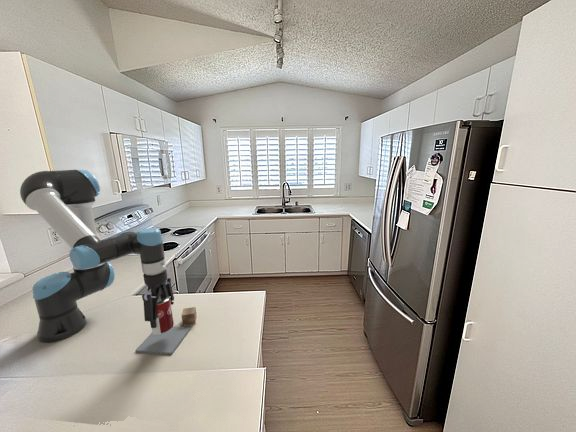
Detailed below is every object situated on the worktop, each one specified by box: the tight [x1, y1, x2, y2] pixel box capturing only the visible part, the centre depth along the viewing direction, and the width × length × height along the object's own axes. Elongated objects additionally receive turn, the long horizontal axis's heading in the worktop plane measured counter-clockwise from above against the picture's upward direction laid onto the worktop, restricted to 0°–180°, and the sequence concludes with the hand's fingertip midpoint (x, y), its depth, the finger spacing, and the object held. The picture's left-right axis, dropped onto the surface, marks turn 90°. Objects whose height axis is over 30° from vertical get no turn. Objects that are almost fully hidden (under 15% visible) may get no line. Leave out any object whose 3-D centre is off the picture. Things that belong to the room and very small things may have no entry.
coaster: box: [134, 325, 192, 356], centre depth 97 cm, size 14×14×1 cm
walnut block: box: [181, 306, 197, 327], centre depth 108 cm, size 5×5×5 cm
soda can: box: [157, 296, 174, 334], centre depth 95 cm, size 7×7×12 cm
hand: (163, 326), depth 96 cm, fingers closed on soda can, 7 cm apart
